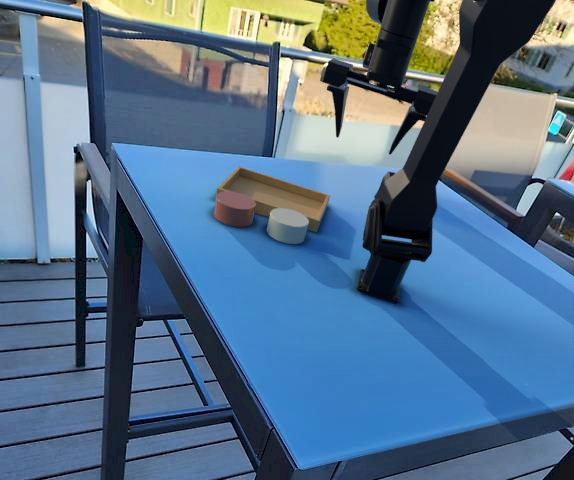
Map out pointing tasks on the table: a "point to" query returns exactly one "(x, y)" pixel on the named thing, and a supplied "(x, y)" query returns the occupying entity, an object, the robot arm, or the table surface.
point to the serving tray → (277, 195)
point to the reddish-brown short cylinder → (234, 209)
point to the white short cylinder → (287, 226)
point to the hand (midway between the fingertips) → (363, 145)
